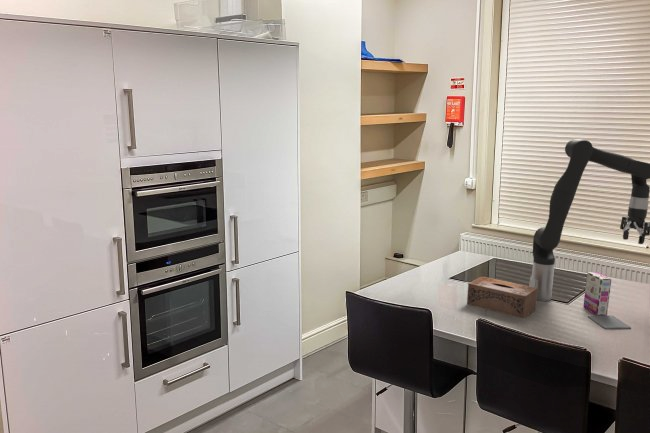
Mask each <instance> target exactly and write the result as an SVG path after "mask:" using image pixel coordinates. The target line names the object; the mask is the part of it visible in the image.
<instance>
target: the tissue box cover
mask: <svg viewBox="0 0 650 433" xmlns="http://www.w3.org/2000/svg"><path fill="white" fill-rule="evenodd" d="M537 289H538V288H534V287H530V286H528V285H524V284H519V283H514V282H510V281H506V280H500V279H497V278H492V277H487V276H480V277H478V278H476V279H474V280H472V281H471V282H468V284H467V298H466V305H469V306H472V307H473V306H474V307H478V308H480V309H481V308H482V309H485V310H490V311H494V312H497V313H501V314H505V315H510V316H513V317H517V318H521V319H525V318H526V317H528V315H530V314H532V313H533V312H534V311H536V308H537V307H536V306H537V300H536V299H537Z"/></svg>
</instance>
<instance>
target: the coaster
mask: <svg viewBox="0 0 650 433" xmlns="http://www.w3.org/2000/svg"><path fill="white" fill-rule="evenodd" d="M587 318H589V319H590V320H592V321H593V322H594V323H596V324H597V325H598V326H600V327H601V328H602V329H604V330H631V329H632V326H629V325H628V324H627V323H625V322H624V321H622V320H620V319H619V318H617V317H616V316H615V315H587Z"/></svg>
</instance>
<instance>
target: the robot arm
mask: <svg viewBox="0 0 650 433" xmlns="http://www.w3.org/2000/svg"><path fill="white" fill-rule="evenodd" d="M564 153H565V154H566V156H567V157H568V158H570V159H569V161H568V162H569V163H568V165H567V167H566V169H565V171H564V173H563V174H562V175H561V176H560V177H559V179H558V180H557V181H556V183H555V185H554V187H553V191H552V193H551V196H550V198H549V199H550V200H549V211H548V217H547V218H548V219H547V221H546V224H545V226H543V227H540V228H537V230H536V231H535V232H534V234H533V238H532V240H533V242H532V256H533V261H532V262H533V263H532V273H531V276H529V286H530V287H534V288H538V289H537V299H536V301H540V302H548V301H551V300H552V293H553V286H554V284H553V283H554V276H555V275H554V274H555V273H554V272H555V262H556V258H555V255H554V250H555V249H556V248H557V247H558V246H559V244H560V241H561V238H562V237H561V236H562V233H563V229H564V225H565V222H566V219H567V217H568V215H569V211H570V209H571V206H572V204H573V202H574V199H575V196H576V192H577V190H578V187H579V184H580V181H581V179H582V176H583V173H584V171H585V169H586V167H587V166H588V163H589V162H592V163H595V164H598V165H600V166H603V167H606V168H608V169H612V170H614V171H617V172H620V173H624V174H629V175H630V176H631V186H632V187H631V193H630V198H629V203H628V208H627V216H622V217H621V221H620V225H619V228H620V230H622V231H623V233H622V239H623V240H629V237H630V236H629V235H630V230H631V229H634V230H636V231H637V232H638V234H639V236H638V242H637V244H638V245H643V244H644V243H645V241H646V240H645V239H646V237H648V236H650V222H649V221H646V220H645V219H646V218H647V214H648V209H649V208H648V207H649V198H650V197H649V196H650V185H649V184H648V182H647V180H650V163H649V162H645V161H642V160H637V159H634V158H632V157H629V156H625V155H622V154H620V153H615V152H613V151H612V152H611V151H607V150H604V149H603V150H602V149H600V148H596V147H594V146H593V144H592V143H591V142H590V141H589V140H587V139H581V138H575V139H571V140H569V141H568V142H567V143H566V145H565V146H564Z"/></svg>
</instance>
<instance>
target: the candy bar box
mask: <svg viewBox="0 0 650 433" xmlns="http://www.w3.org/2000/svg"><path fill="white" fill-rule="evenodd" d="M611 287H612V279H611V278H609V277H608V276H605V275H604V274H602V273H599V272H598V271H588V272H587V274H586V281H585V289H584V297H583V306H582V307H583V308H584V309H586V310H588V311H590V312H591V313H592V314H594V315H595V316H608V309H609V300H610V294H611Z"/></svg>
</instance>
